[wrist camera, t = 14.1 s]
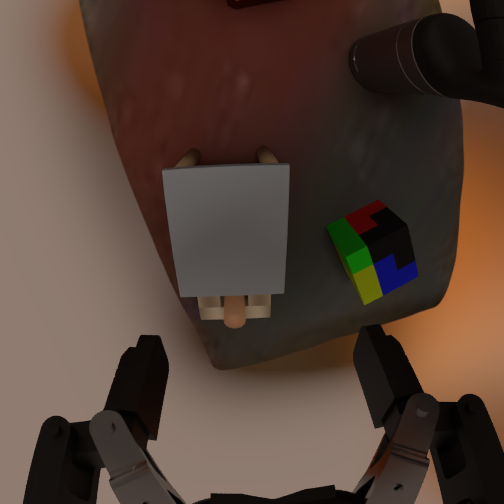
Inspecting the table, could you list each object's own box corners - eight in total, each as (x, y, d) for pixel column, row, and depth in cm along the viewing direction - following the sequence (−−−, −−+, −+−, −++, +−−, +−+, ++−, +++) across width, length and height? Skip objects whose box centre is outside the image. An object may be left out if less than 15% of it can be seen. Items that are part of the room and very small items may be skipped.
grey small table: (273, 145, 40) (289, 165, 29) (272, 244, 48) (284, 293, 37) (182, 149, 40) (162, 170, 28) (192, 247, 48) (180, 297, 36)
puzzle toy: (392, 245, 50) (418, 276, 41) (345, 270, 52) (364, 305, 43) (377, 199, 45) (407, 224, 36) (325, 226, 47) (345, 257, 38)
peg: (243, 273, 51) (245, 311, 42) (243, 288, 52) (245, 327, 43) (224, 274, 50) (222, 312, 42) (225, 289, 52) (224, 328, 43)
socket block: (269, 210, 45) (272, 220, 42) (267, 302, 54) (270, 317, 51) (191, 213, 45) (187, 223, 41) (202, 305, 54) (200, 319, 50)
